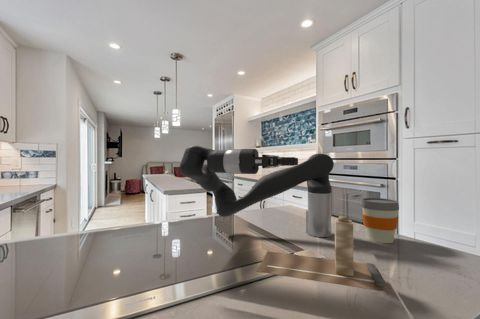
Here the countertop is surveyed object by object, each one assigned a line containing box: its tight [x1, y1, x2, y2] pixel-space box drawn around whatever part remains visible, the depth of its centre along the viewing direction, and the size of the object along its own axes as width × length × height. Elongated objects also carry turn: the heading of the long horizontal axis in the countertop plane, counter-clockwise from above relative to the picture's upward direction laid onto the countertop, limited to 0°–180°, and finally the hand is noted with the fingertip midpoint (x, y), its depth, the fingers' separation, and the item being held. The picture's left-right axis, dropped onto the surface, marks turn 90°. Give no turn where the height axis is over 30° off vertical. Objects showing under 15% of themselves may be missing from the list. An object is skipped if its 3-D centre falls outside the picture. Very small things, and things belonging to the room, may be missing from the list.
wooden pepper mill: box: [334, 215, 354, 276], centre depth 60 cm, size 4×4×14 cm
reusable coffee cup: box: [360, 197, 400, 244], centre depth 89 cm, size 13×13×15 cm
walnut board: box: [256, 251, 391, 293], centre depth 62 cm, size 30×14×2 cm, turn 72°
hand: (296, 161), depth 64 cm, fingers open, 8 cm apart
